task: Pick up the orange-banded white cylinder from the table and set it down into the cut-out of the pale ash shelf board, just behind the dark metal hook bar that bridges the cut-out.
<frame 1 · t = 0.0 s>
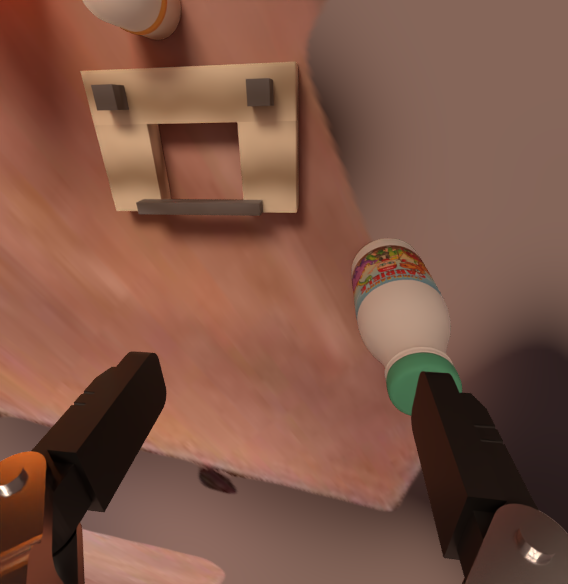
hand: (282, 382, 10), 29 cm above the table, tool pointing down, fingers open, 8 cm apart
shelf board: (202, 143, 35), on the table
orange-banded white cylinder: (152, 4, 30), on the table
milk bottle: (384, 267, 39), on the table
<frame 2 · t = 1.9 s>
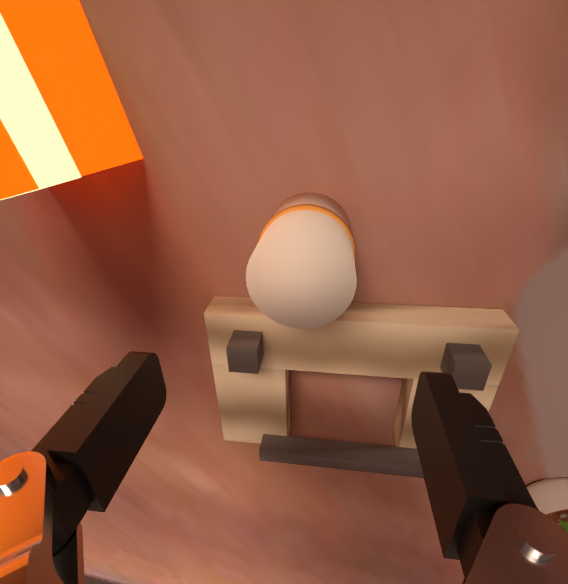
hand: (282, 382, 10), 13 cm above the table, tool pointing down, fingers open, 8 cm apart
shelf board: (345, 372, 27), on the table
orange-banded white cylinder: (309, 233, 22), on the table
orange juice: (59, 97, 20), on the table
milk bottle: (555, 497, 31), on the table
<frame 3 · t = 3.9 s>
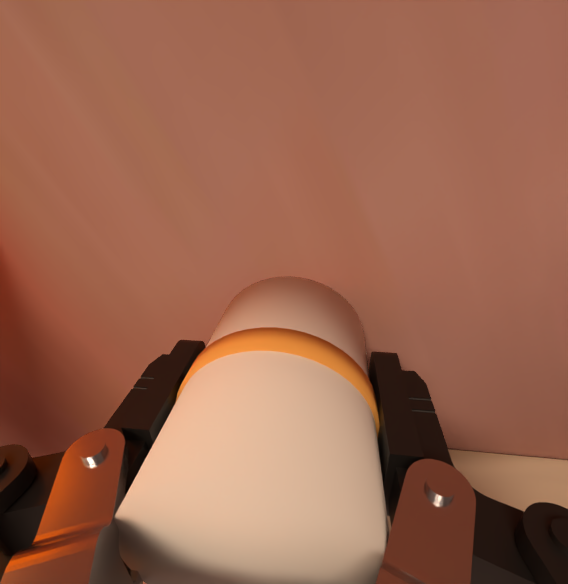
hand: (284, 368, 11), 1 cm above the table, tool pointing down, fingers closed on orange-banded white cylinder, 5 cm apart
shelf board: (351, 526, 17), on the table
orange-banded white cylinder: (290, 341, 12), on the table, touching gripper
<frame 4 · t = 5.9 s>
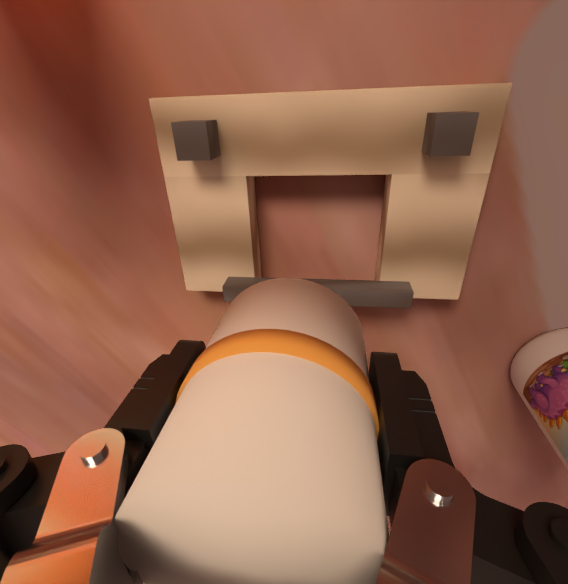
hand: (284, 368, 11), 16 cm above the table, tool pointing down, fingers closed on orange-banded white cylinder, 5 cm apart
shelf board: (318, 198, 24), on the table
orange-banded white cylinder: (290, 342, 12), point 15 cm above the table, touching gripper
milk bottle: (557, 360, 28), on the table
when the fingers open (4 cm above the table, at t = 7.8 s): orange-banded white cylinder drops 2 cm, on the table.
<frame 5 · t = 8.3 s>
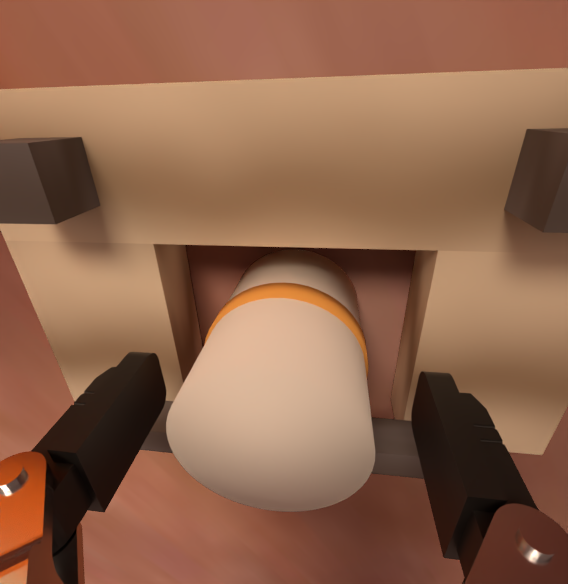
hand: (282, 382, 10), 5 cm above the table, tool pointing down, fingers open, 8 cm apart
shelf board: (296, 272, 14), on the table
orange-banded white cylinder: (295, 306, 15), on the table
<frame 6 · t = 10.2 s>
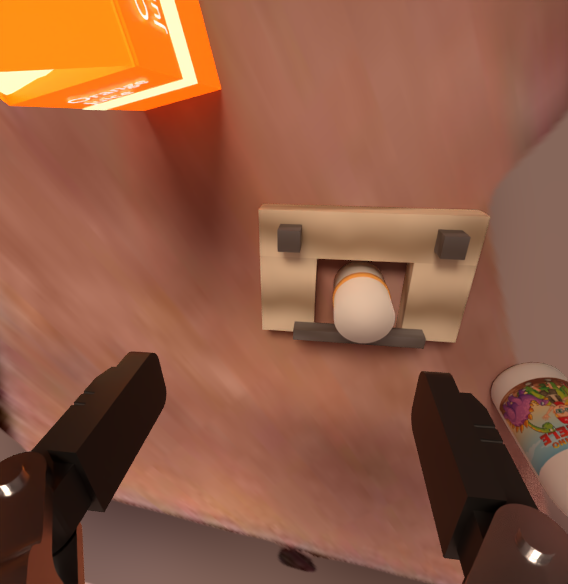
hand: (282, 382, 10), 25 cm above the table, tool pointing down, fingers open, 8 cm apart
shelf board: (360, 270, 35), on the table
orange-banded white cylinder: (358, 284, 36), on the table
orange juice: (164, 42, 28), on the table
milk bottle: (524, 385, 39), on the table
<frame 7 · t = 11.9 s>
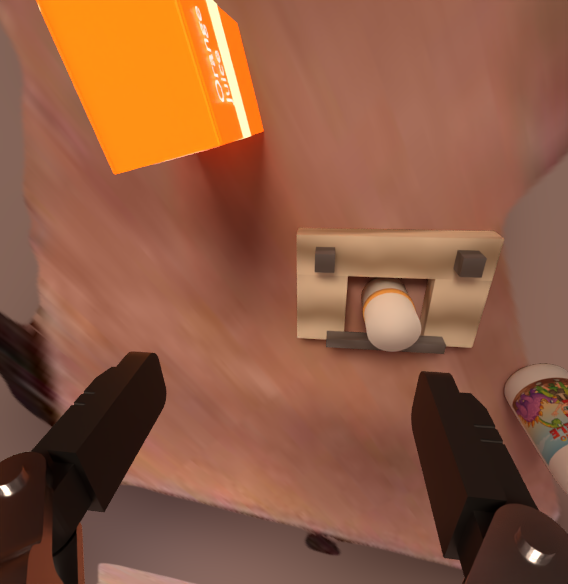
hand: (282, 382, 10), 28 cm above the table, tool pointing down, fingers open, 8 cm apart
shelf board: (385, 284, 39), on the table
orange-banded white cylinder: (383, 296, 40), on the table
orange juice: (214, 92, 32), on the table
milk bottle: (534, 383, 43), on the table
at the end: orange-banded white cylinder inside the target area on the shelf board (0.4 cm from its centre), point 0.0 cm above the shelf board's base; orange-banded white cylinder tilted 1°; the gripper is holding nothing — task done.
